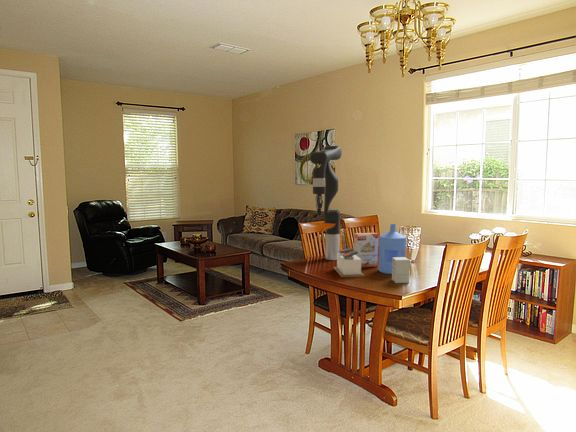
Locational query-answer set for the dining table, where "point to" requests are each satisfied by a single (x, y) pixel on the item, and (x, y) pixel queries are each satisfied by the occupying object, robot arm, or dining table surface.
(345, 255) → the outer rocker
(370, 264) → the cracker box
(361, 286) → the dining table surface
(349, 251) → the block
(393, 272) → the supplement box
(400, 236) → the water jug
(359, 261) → the switch panel
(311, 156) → the robot arm
